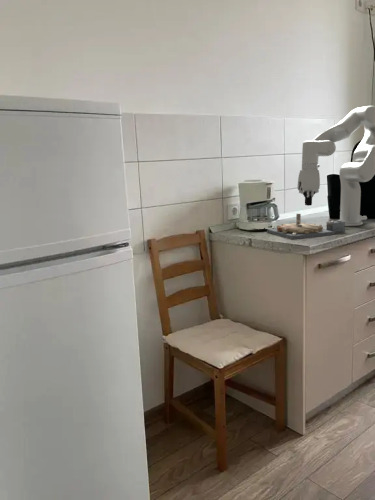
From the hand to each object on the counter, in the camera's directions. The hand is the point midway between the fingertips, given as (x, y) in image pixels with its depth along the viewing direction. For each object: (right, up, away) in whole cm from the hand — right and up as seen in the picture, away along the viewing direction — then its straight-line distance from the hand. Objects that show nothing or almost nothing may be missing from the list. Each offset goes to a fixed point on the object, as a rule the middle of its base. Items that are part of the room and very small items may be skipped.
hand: (308, 205), depth 211 cm
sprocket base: (-6, -14, -6) cm, 17 cm away
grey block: (+11, -14, -7) cm, 19 cm away
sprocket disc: (-6, -12, -7) cm, 15 cm away
